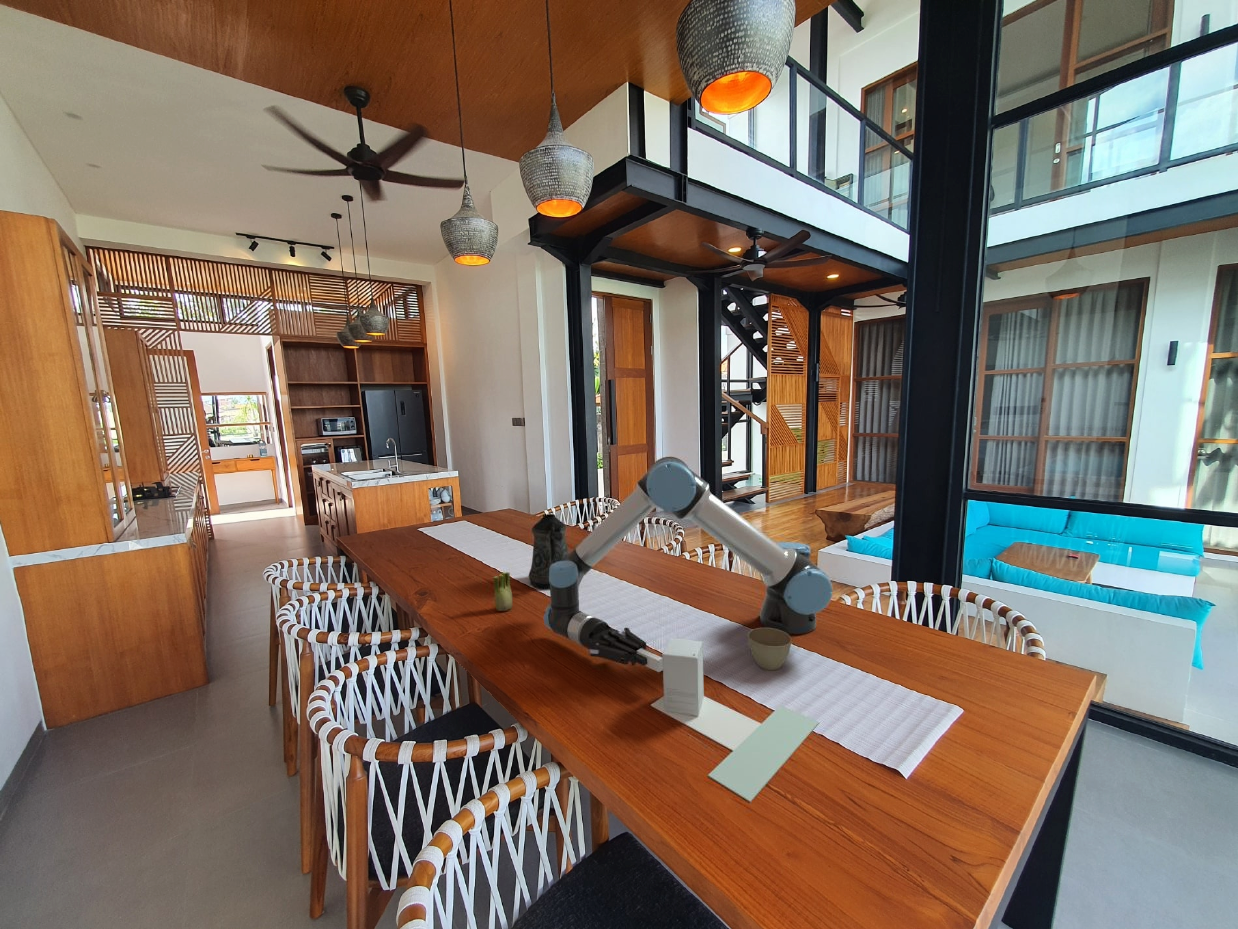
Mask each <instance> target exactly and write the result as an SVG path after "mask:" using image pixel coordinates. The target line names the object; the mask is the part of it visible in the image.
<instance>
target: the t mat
mask: <svg viewBox="0 0 1238 929" xmlns="http://www.w3.org/2000/svg"><path fill="white" fill-rule="evenodd" d="M650 706H651V707H653V708H655V710H658V711H660V712H661V713H663V714H665V715H667V716H669V717H671V718H673V719H675V720H676V721H678V722H680V723H682V724H683V725H685V726H687V727H689V728H690V729H693V730H694V731H696V732H698V733H699V734H702V735H703V736H705V737H707V738H709V739H711V740H712V741H714V742H716V743H718V744H719V745H721V746H724V747H725V748H727V749H728V750H730V751H732V752H730V753H729V754H728V755H727V756H726V757H725V758H724V759H723V760H722V761H721V762H720V763H719V764H718V765H717V766H716V767H715V768H713V770H712V771H710V773H708V775H707V776H708V777H709V778H711V779H712V780H714V781H715V782H717V783H718V784H720V785H722V786H723V787H725V788H727V789H729V790H730V791H732V792H733V793H735V794H736V795H737V796H740V797H741V798H743V799H745V800H746V801H747V802H749V803H752V801H753V800H754V799H755V798H756V796H758V794H759V793H760V792H761V790H763V788H764V787H765V786H767V784H768V783H769V782H770V780H772V778H773V777H774V776H775V775H776V774H777V772H779V770H780V769H781V767H782V766H783V765H784V764H785V763H786V762H787V761H788V760H789V758H790V757H791V756H792V755H793V754H794V753H795V751H796V750H797V749H799V747H800V746H801V745H802V744H803V742H804V741H805V740H806V739H807V738H808V736H810V734H811V733H812V732H813V731H814V730H815V728H816V727H817V726H818V725H819V724H820V722H819V721H817V720H815V719H813V718H810V717H808V716H806V715H804V714H801V713H799V712H797V711H795V710H793V709H791V708H788V707H786V706H783V705H782V704H780V705H779V706H778V707H777V708H776V709H775V710H774V711H772V713H771V714H770V715H768V717H767V718H766V719H765V720H764V721H763V722H759V721H756V720H755V719H752V718H750V717H748V716H746V715H744V714H742V713H740V712H738V711H735V709H731V708H729V707H728V706H726V705H723V704H722V703H720V702H717V701H716V700H713V699H711V698H709V697H707V696H706V695H704V698H703V701H702V705H701V709H700V713H699V716H694V715H688V714H682V713H676V712H670V711H665V707H664V695H663V696H661V697H659V699H657V700H656V701H655V702H653V703H651V704H650Z"/></svg>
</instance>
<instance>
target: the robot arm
mask: <svg viewBox="0 0 1238 929" xmlns="http://www.w3.org/2000/svg"><path fill="white" fill-rule="evenodd" d="M656 508H660V509H662V510H664V511H668V512H670V513H671V515H674V516H675V517H676V518H678V519H679V520H680V521H683V520H689V521H691V522H693V524H695V525H696V526H698V528H700V529H702V530H703V531H705V532H706V533H707V534H708V535H709V536H711V537H712V538H713V539H714V540H716V541H717V542H718V543H720V544H721V545H723V546H724V547H725V548H726V549H728V550H729V551H730V552H731V553H733V554H734V555H735V556H737V557H738V558H740V559H741V560H742V561H744V562H745V563H746V565H748V566H750V567H751V568H753V569H754V570H755V571H757V573H759V574H760V575H762V577H763V579H762V580H763V584H764V585H765V586H766V595H765V598H764V600H763V603H762V606H761V609H760V612H759V614H760V615H759V617H760V618H759V620H760V623H761V624H762V625H763V626H764V627H765V628H774V629H778V630H781V631H783V632H785V633H787V634H788V635H802V634H809V633H810V632H814V630H815V629H816V627H817V616H816V614H817V613H819V612H821V611H823V610H824V609H825V608H826V607H827V606H828V605H829V604H830V602H831V600H832V598H833V591H834V590H833V584H832V582H831V580H830V579H829V577H828V576H829V575H827V574H826V572H824V571H822V570H821V569H820V567H818V565H816V564H815V563H814V562H813V561H812V560H811V556H812V552H811V547H810V546H809V545H807V544H805V543H801V542H791V541H790V542H788V541H787V542H786V541H783V542H775V541H774V540H772V538H770V537H769V536H767V535H766V534H765V533H764V532H762V531H761V530H759V528H757V527H756V526H755V525H753V524H752V523H751V522H749V521H748V520H746V519H745V518H744V516H743V517H742V516H741V515H740V514H739V513H737V512H736V511H735V510H734V509H732V508H731V507H729V505H727V504H726V503H724V502H723V501H722V500H721V499H719V498H718V497H717V496H716V495H714V494H712V492H711V491H710V484H709V483H708V482H707V481H706V480H704V479H703V478H702V477H700V475H698V474H697V473H695V472H694V471H693V470H692V469H690V468H689V466H688V465H687V464H686V463H685V462H684V461H683V460H682V459H681V458H677V457H674V456H664V457H660V458H659V459H657V460H656V461H654V463H652V465H651V466H650V468H649V469H648V470H647V472H646V473H645V474H644V475H643V476H642V477H641V478H640V479H639V480H638V482H636V488H635V489H634V490H633V491H632V492H631V493H630V494H629V495H628V496H627V497H626V498H625V499H624V500H623V501H622V502H621V503H620V504H619V505H618V506H617V507H616V508H615V509H614V510H613V511H612V512H610V513H609V515H607V517H606V518H605V519H603V520H602V522H601V523H599V524H598V525H597V526H596V528H594V529H593V530H592V531H591V532H590V533H589V534H588V535H587V536H586V537H585V538H584V539H582V541H581V542H580V543H579V544H578V545H577V546H576V547H574V549H573V550H571V552H568V554H567V555H566V556H565V557H564V558H563V560H562V561H559V562H556V563H554V564H552V565H551V566H550V568H549V582H550V589H549V593H550V604H549V605H547V607H546V608H545V612H544V614H543V622H544V625H545V627H547V629H549V630H551V631H552V632H553V633H554V634H557V635H560V636H562V637H564V638H567V639H569V640H571V641H573V642H575V643H577V644H578V645H580V646H582V647H583V648H585V649H587V650H589V655H590V657H595V658H600V659H604V660H608V661H612V662H615V663H617V664H621V665H628V664H629V662H630V664H631V666H632V667H633V666H634V667H635V666H636V664H638V665H640V666H644V667H647V668H648V669H651V670H653V671H655V672H657V673H661V671H662V672H663V658H662V656H660V655H657V654H655V653H654V652H652V651H650V650H648V649H647V642H646V641H644V640H643V639H642V638H641V637H639V636H637V635H636V634H634V633H633V632H632V631H631V630H630V628H629V627H624V629H623V630H622V631H619V630H618V629H615V628H612V627H610V625H609V624H608V623H607V622H606V621H604V620H602V619H599V618H598V617H595V616H593V615H590V614H588V613H586V612H583V611H581V610H580V600H579V594H580V593H579V592H580V590H579V587H580V585H581V582H582V580H583V578H584V576H585V575H587V574H588V573H589V571H590V570H592V569H593V568H594V567H595V565H597V564H598V562H600V561H601V560H602V559H603V558H604V557H605V556H606V555H607V554H608V553H610V551H611V550H612V549H614V547H615V546H617V544H618V543H620V542H621V541H622V539H624V538H625V537H626V536H627V535H628V534H629V533H630V532H632V530H634V528H635V527H637V525H639V524H640V523H641V522H642V521H643V520H644V519H645V518H646V517H647V516H648V515H649V514H651V512H652V511H653V510H654V509H656ZM590 572H591V571H590Z"/></svg>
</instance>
